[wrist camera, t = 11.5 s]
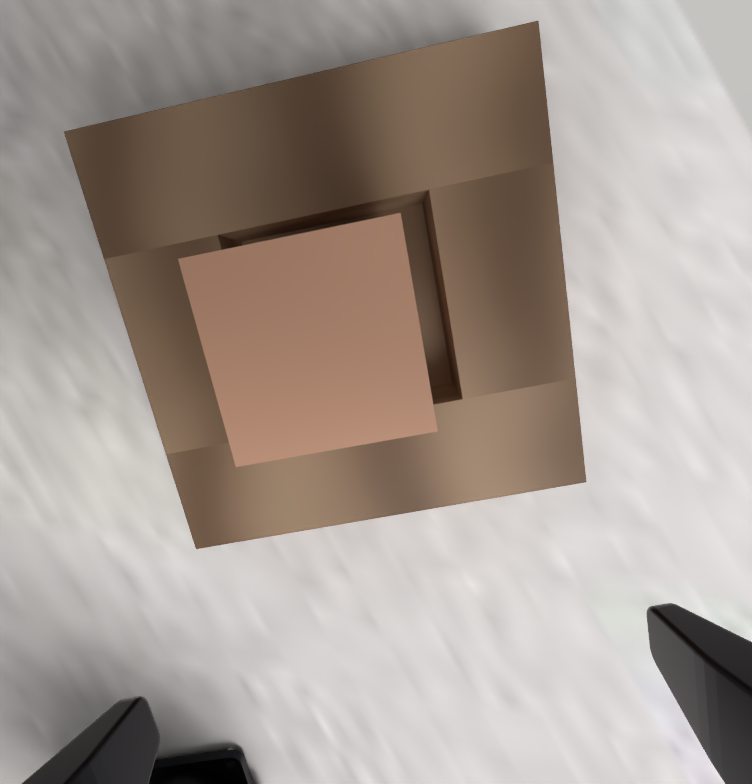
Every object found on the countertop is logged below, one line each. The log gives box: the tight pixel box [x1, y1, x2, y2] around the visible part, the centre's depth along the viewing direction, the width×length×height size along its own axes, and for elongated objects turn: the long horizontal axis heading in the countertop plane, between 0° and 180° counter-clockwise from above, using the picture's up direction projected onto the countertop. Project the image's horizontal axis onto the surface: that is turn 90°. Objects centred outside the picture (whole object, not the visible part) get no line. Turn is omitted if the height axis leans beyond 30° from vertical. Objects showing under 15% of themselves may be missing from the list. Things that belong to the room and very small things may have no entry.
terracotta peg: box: [178, 213, 438, 467], centre depth 13 cm, size 4×4×9 cm
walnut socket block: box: [64, 21, 586, 549], centre depth 17 cm, size 14×14×4 cm
